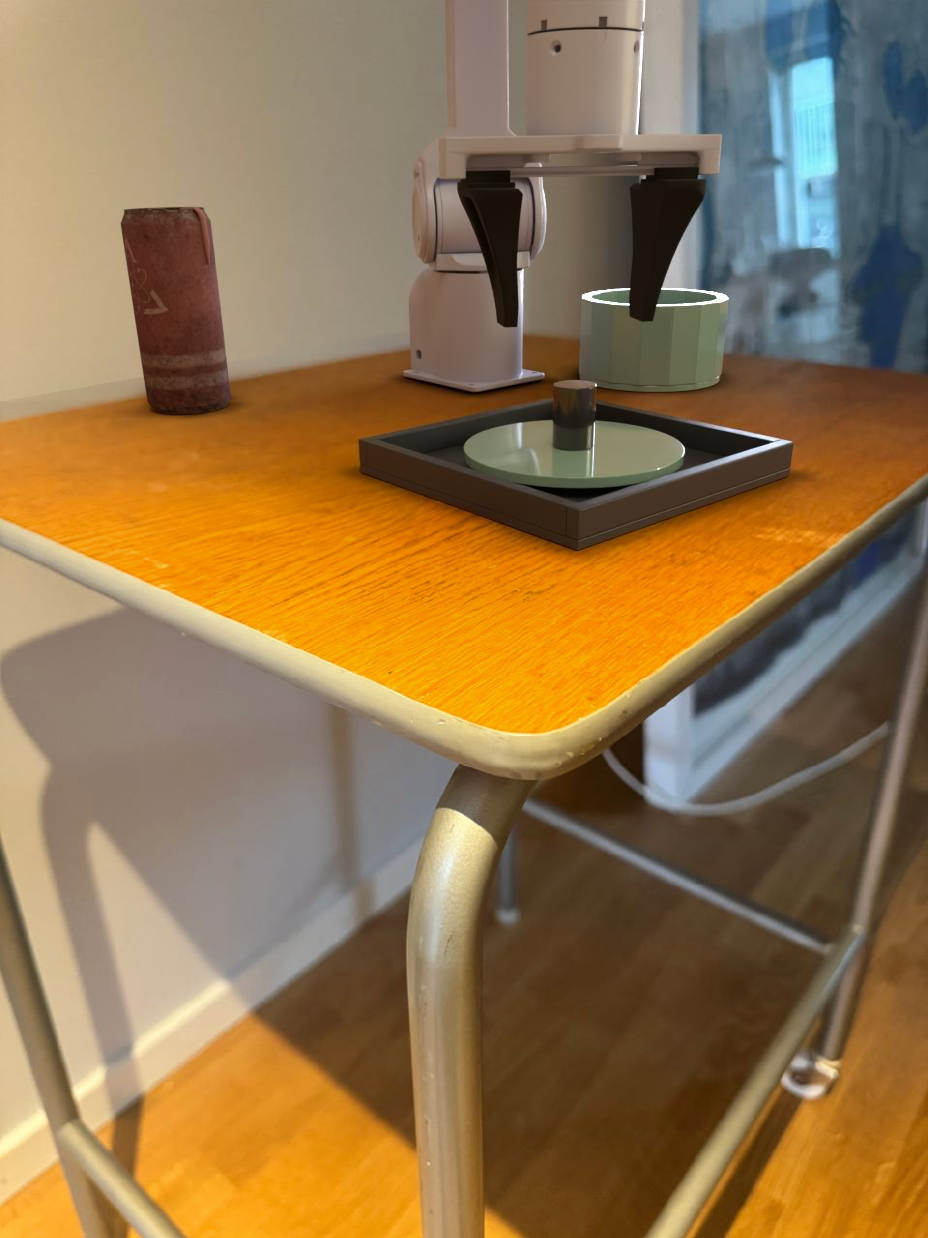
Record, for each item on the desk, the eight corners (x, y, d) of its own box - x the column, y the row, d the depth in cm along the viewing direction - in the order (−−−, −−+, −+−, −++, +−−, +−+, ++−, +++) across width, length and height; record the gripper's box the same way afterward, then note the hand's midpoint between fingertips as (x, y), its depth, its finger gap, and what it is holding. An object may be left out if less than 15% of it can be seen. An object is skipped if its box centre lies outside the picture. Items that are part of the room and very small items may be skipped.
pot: (556, 384, 80) (558, 301, 77) (609, 360, 89) (613, 285, 86) (695, 397, 75) (702, 309, 72) (736, 371, 84) (744, 291, 81)
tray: (359, 472, 58) (357, 438, 57) (567, 422, 68) (568, 393, 67) (577, 550, 46) (578, 510, 45) (789, 475, 56) (794, 441, 55)
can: (214, 416, 71) (188, 207, 65) (133, 414, 72) (101, 208, 66) (247, 398, 76) (226, 204, 71) (172, 396, 78) (145, 205, 72)
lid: (422, 479, 55) (419, 395, 53) (522, 429, 64) (523, 357, 62) (637, 513, 49) (643, 420, 47) (711, 452, 59) (718, 373, 57)
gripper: (453, 24, 43) (458, 339, 49) (759, 27, 46) (729, 327, 52) (429, 41, 50) (436, 318, 55) (699, 43, 52) (678, 308, 58)
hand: (574, 321), depth 54 cm, fingers open, 7 cm apart
